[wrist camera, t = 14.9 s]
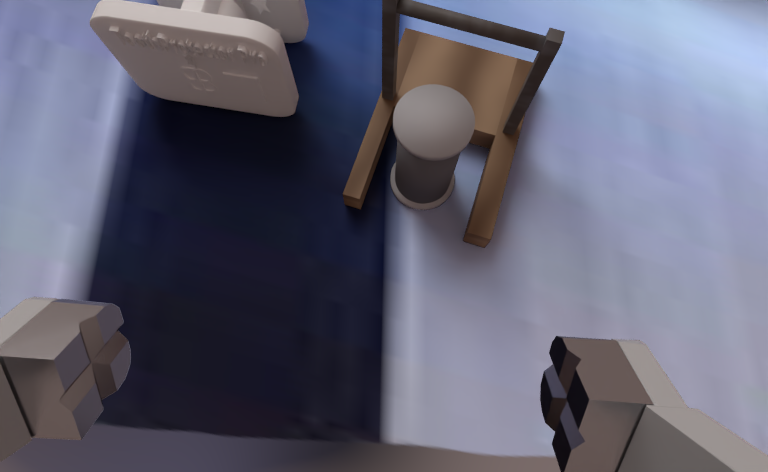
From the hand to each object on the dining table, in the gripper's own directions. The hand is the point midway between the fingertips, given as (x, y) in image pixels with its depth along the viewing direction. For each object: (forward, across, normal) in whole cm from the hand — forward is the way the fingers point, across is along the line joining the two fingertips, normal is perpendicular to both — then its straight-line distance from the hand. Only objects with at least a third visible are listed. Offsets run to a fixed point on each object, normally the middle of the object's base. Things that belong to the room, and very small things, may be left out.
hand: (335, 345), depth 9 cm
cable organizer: (+42, +16, +2) cm, 45 cm away
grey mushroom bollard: (+34, -3, +10) cm, 36 cm away
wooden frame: (+38, -5, +7) cm, 38 cm away
